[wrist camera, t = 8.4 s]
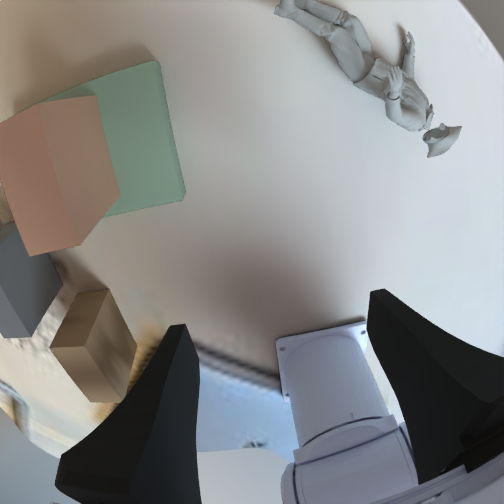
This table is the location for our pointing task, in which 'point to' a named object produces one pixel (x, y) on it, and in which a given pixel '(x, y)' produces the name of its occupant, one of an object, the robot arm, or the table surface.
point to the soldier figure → (373, 69)
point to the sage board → (136, 135)
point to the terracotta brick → (57, 172)
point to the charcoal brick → (23, 285)
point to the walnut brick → (96, 347)
